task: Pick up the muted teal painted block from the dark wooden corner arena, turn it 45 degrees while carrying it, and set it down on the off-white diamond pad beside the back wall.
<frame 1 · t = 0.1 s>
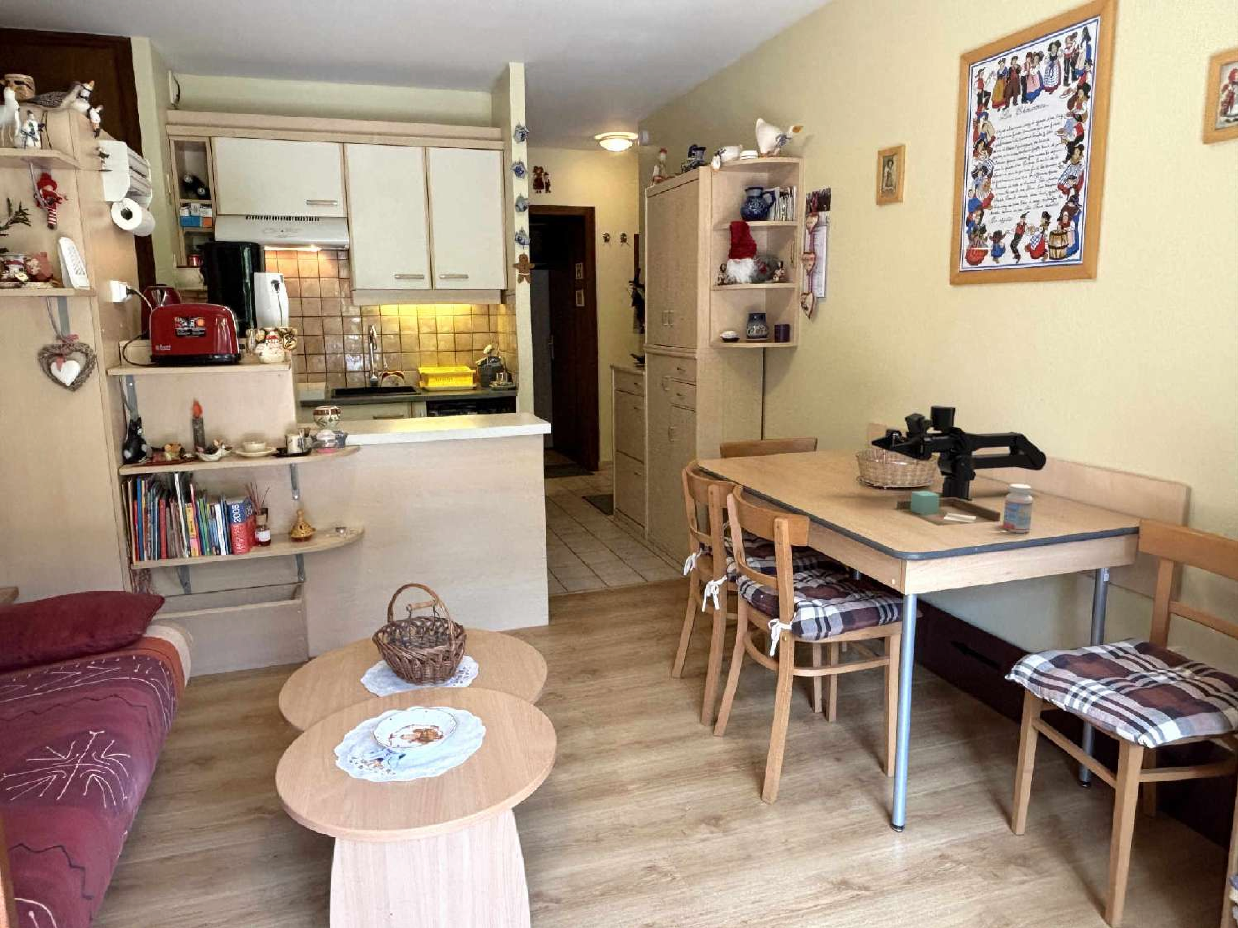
hand: (880, 445, 228), 17 cm above the table, tool horizontal, fingers open, 9 cm apart
pill bottle: (1016, 531, 204), on the table
teal block: (924, 511, 219), point 1 cm above the table, touching arena
arena: (946, 517, 216), on the table
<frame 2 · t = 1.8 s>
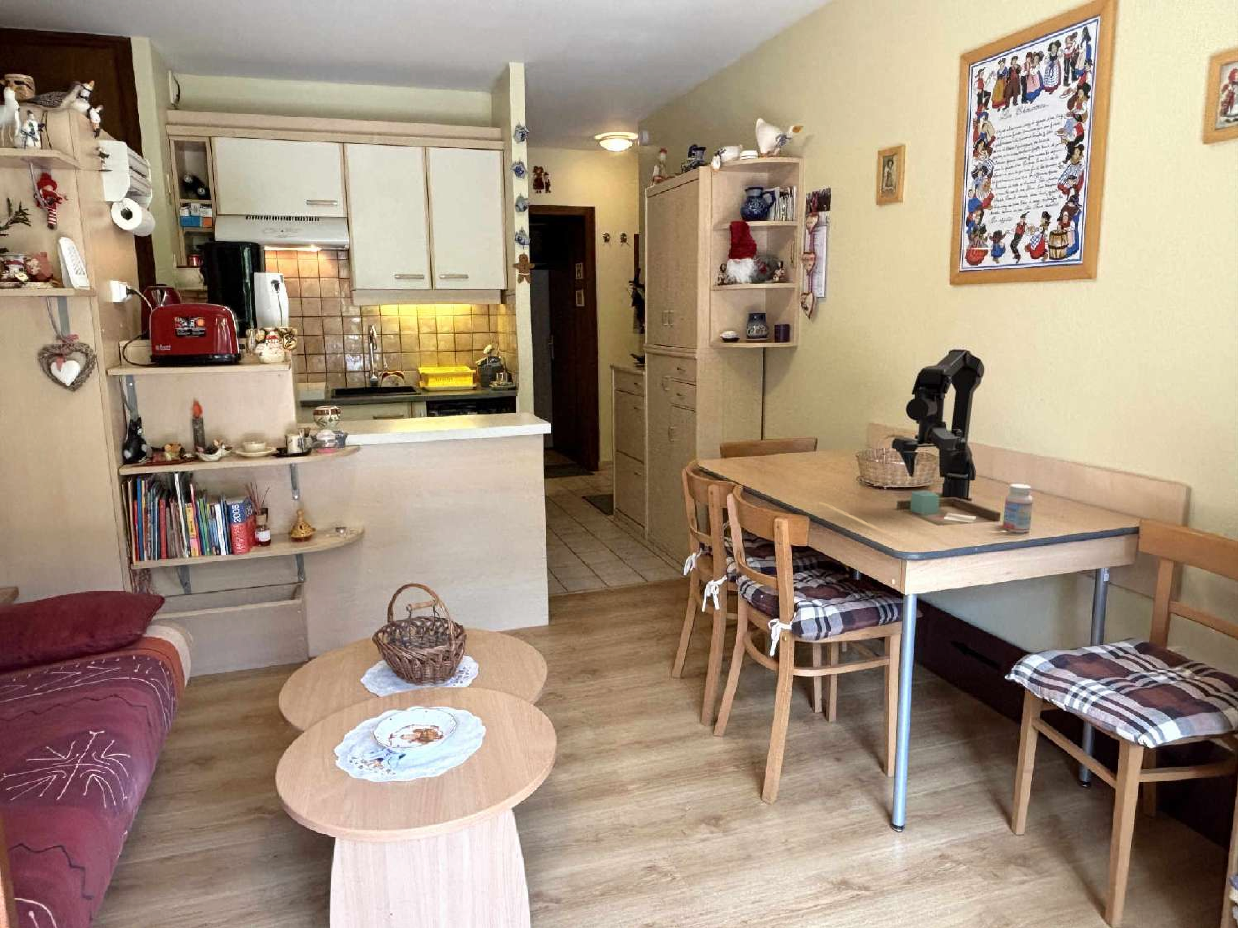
hand: (926, 475, 217), 11 cm above the table, tool pointing down, fingers open, 9 cm apart
nothing on the table moved.
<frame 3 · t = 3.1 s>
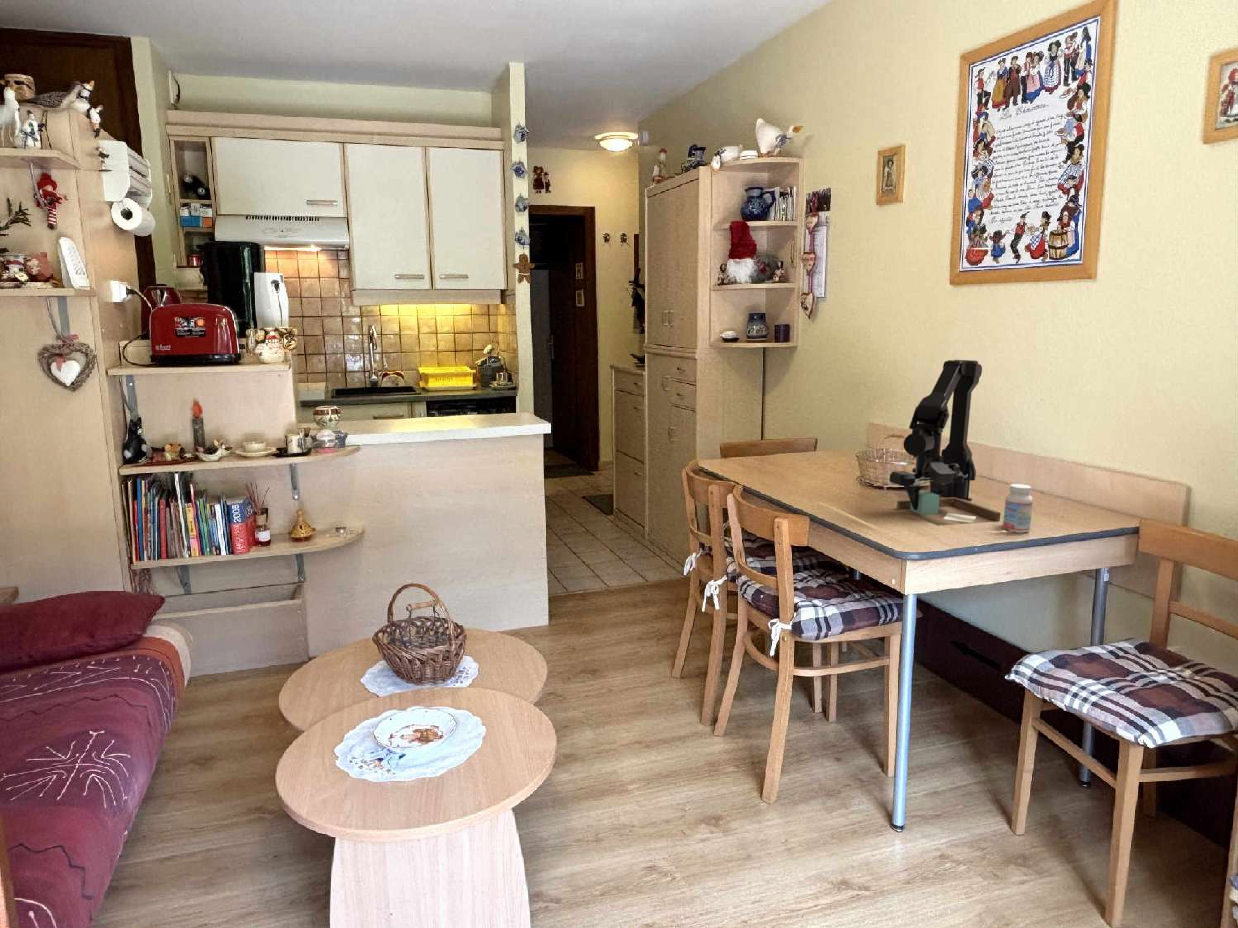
hand: (924, 508, 219), 2 cm above the table, tool pointing down, fingers closed on teal block, 5 cm apart
teal block: (924, 511, 219), point 1 cm above the table, touching arena, gripper
everything else where it was.
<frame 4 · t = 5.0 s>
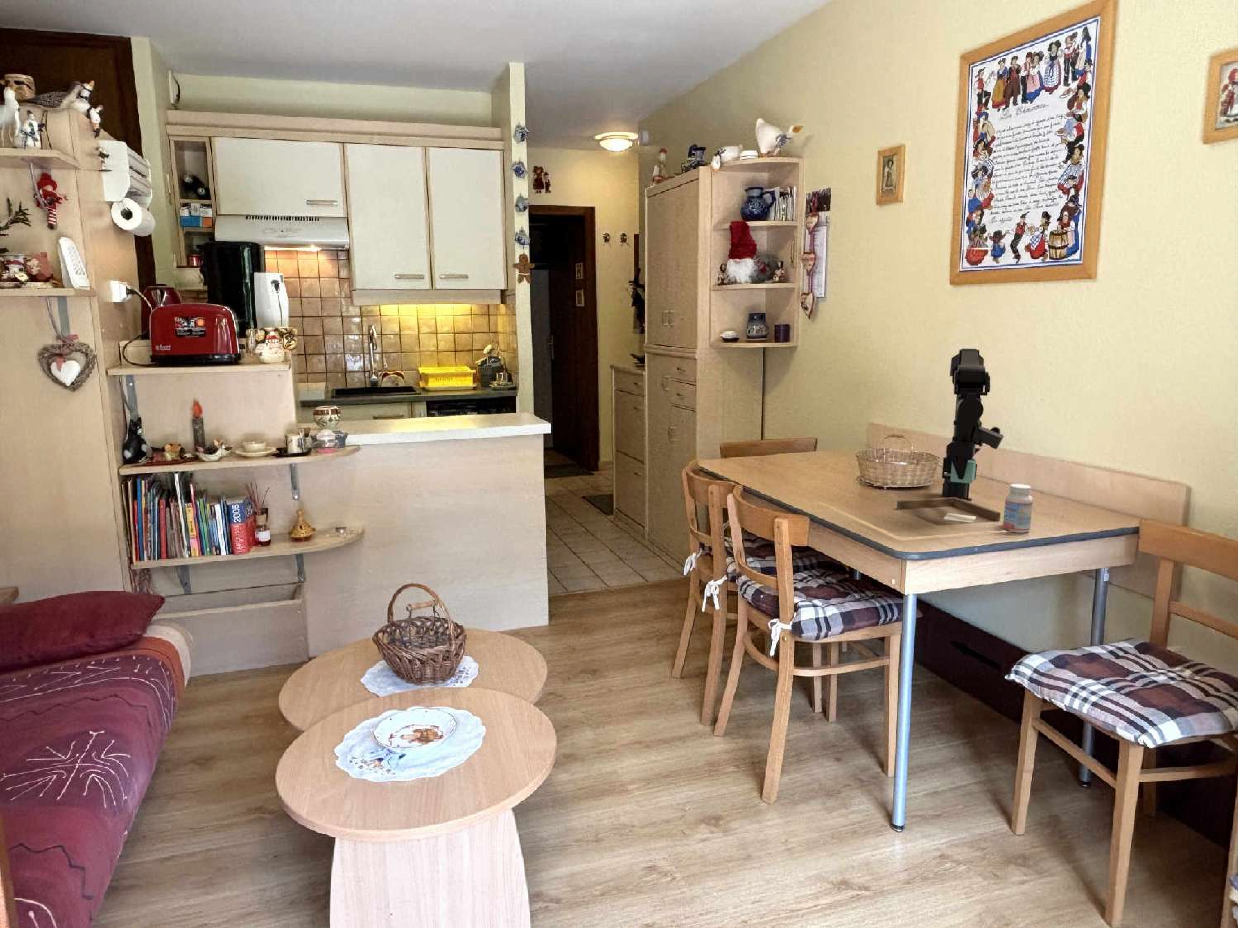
hand: (962, 477, 211), 11 cm above the table, tool pointing down, fingers closed on teal block, 5 cm apart
teal block: (962, 480, 211), point 11 cm above the table, touching gripper
everything else where it was.
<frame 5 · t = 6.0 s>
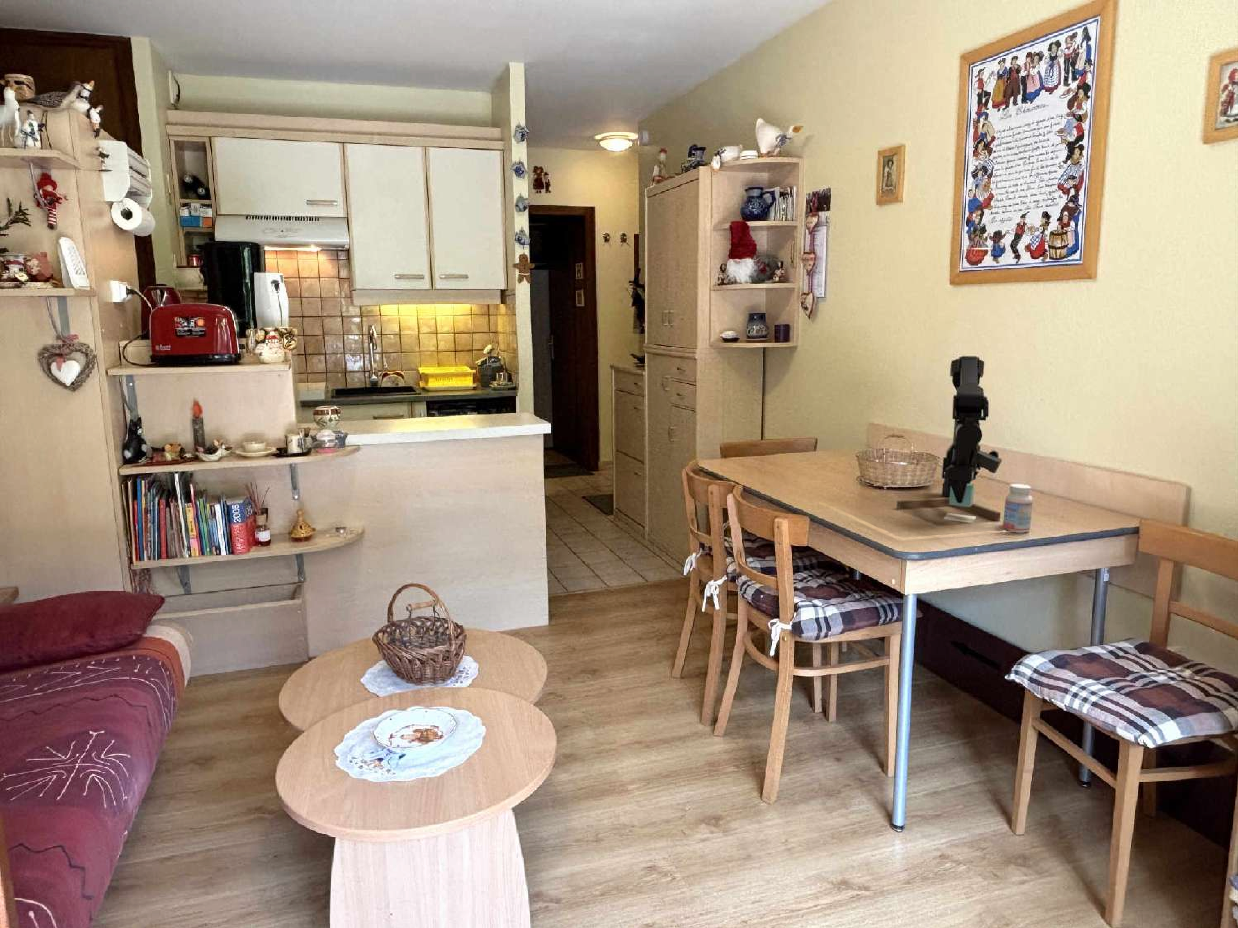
hand: (961, 500, 212), 5 cm above the table, tool pointing down, fingers closed on teal block, 5 cm apart
teal block: (961, 503, 212), point 5 cm above the table, touching gripper
everything else where it was.
when the fingers open (3 cm above the table, at t = 6.8 s): teal block drops 2 cm, resting on arena.
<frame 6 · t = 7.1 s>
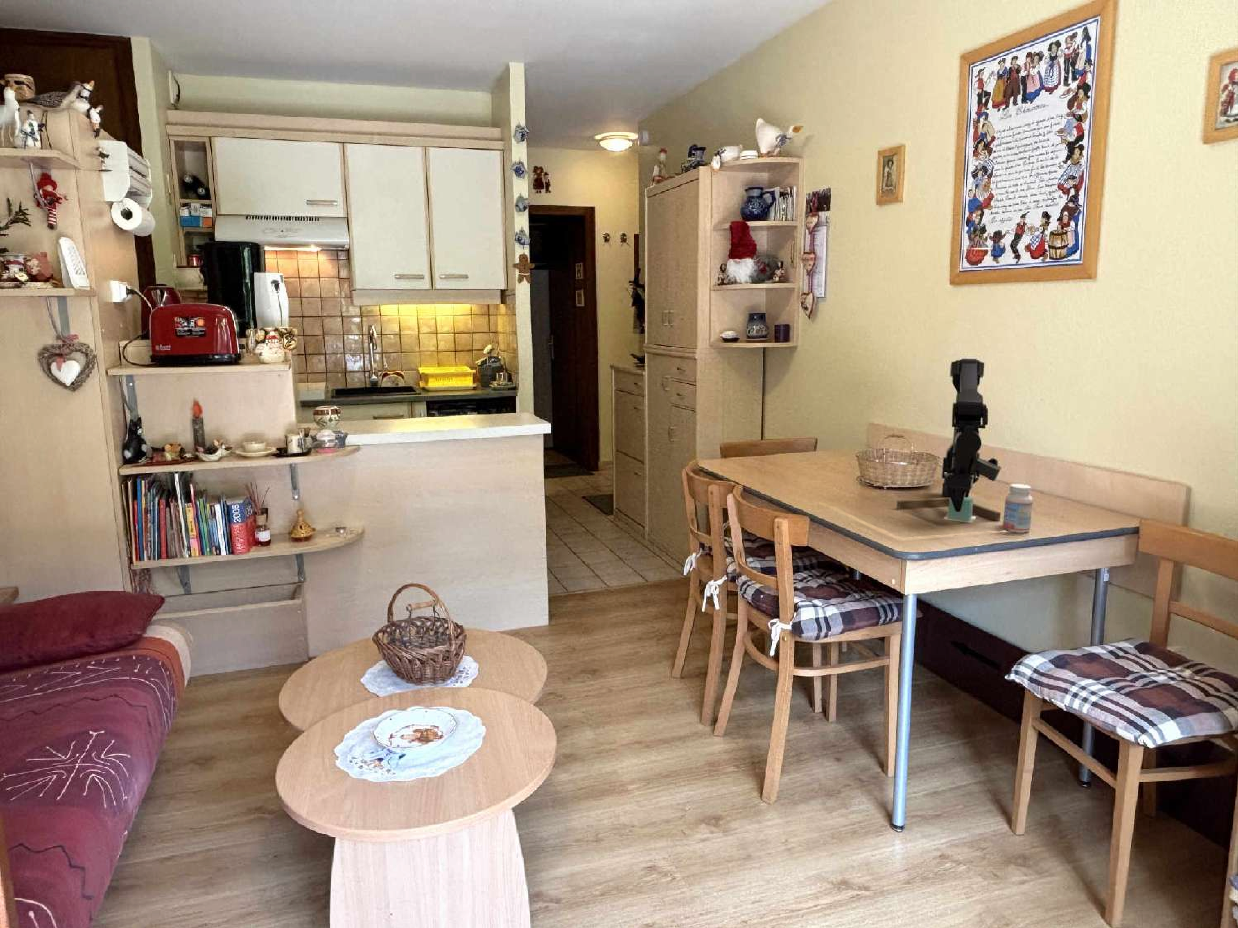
hand: (960, 508, 212), 3 cm above the table, tool pointing down, fingers open, 8 cm apart
teal block: (959, 517, 213), point 1 cm above the table, touching arena
everything else where it was.
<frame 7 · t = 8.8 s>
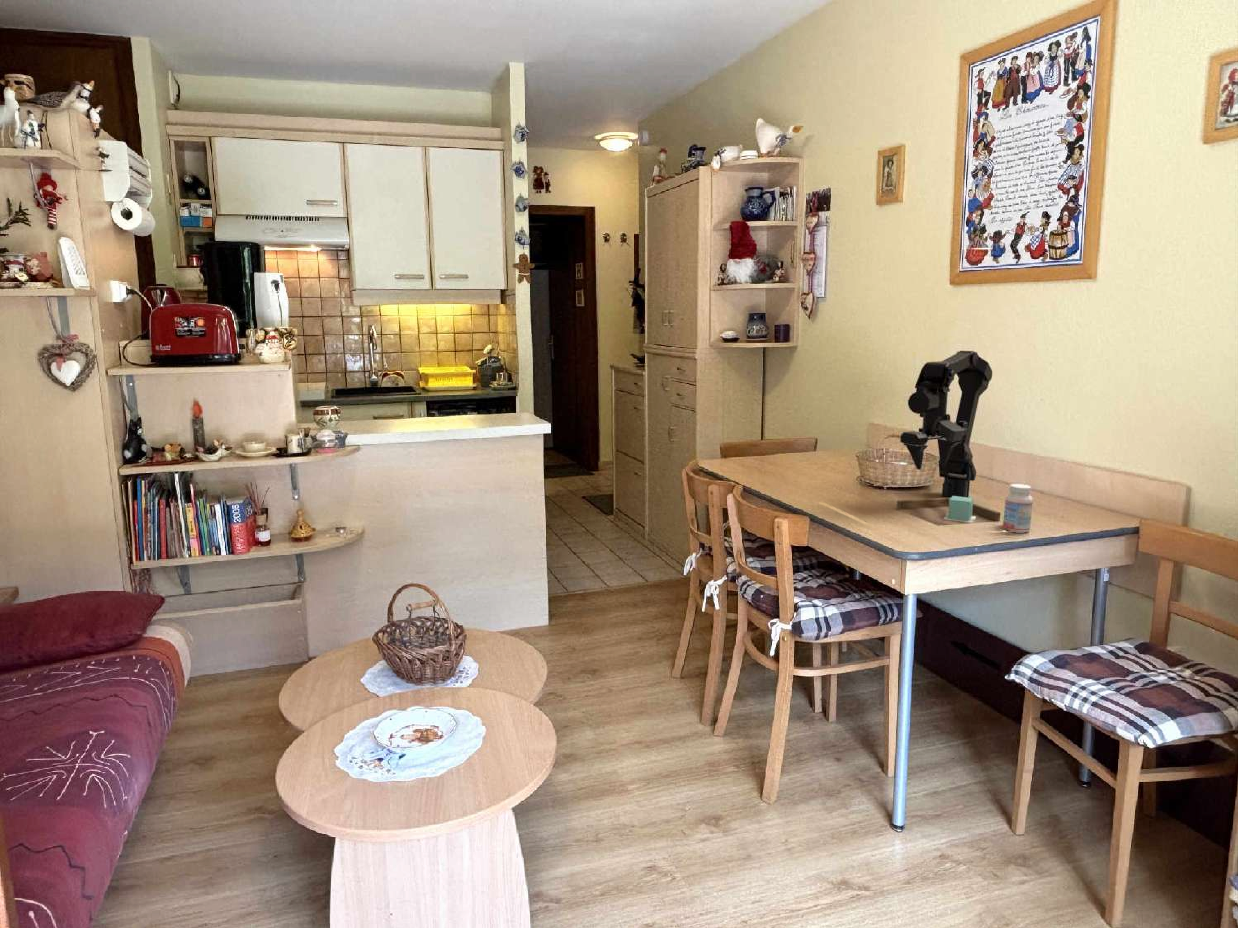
hand: (931, 467, 223), 12 cm above the table, tool pointing down, fingers open, 9 cm apart
nothing on the table moved.
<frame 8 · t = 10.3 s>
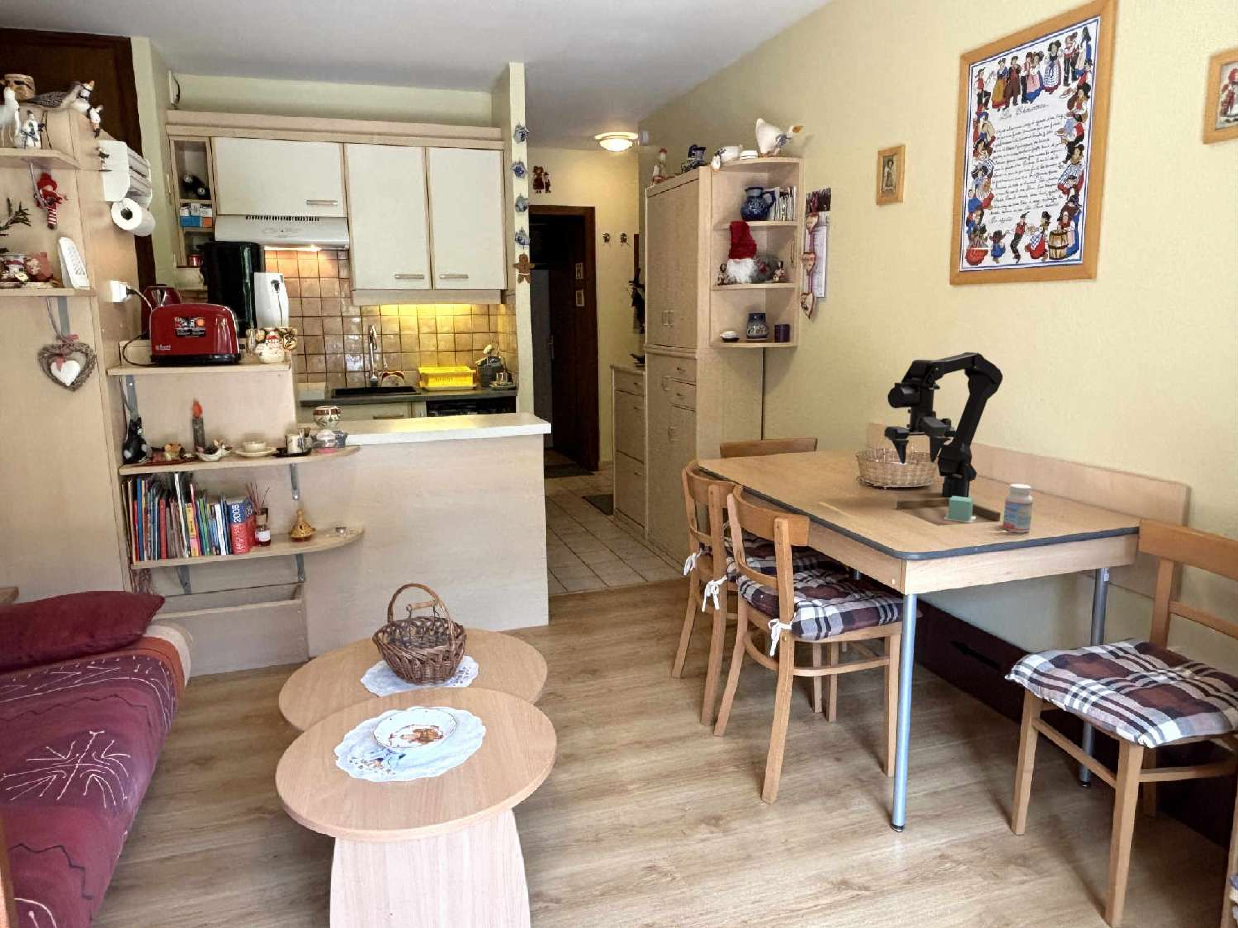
hand: (917, 463, 228), 12 cm above the table, tool pointing down, fingers open, 9 cm apart
nothing on the table moved.
at the end: teal block 0.0 cm from the target spot on the arena, point 0.9 cm above the arena's base; teal block tilted 0°; the gripper is holding nothing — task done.
